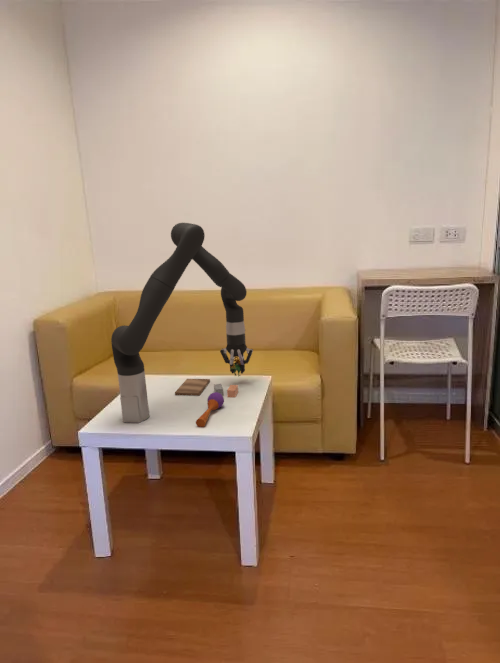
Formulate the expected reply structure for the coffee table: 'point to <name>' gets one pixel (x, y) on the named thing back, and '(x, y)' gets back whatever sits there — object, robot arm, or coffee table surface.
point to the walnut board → (192, 387)
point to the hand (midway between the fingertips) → (237, 372)
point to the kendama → (210, 407)
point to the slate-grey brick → (218, 388)
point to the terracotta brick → (232, 391)
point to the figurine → (236, 366)
